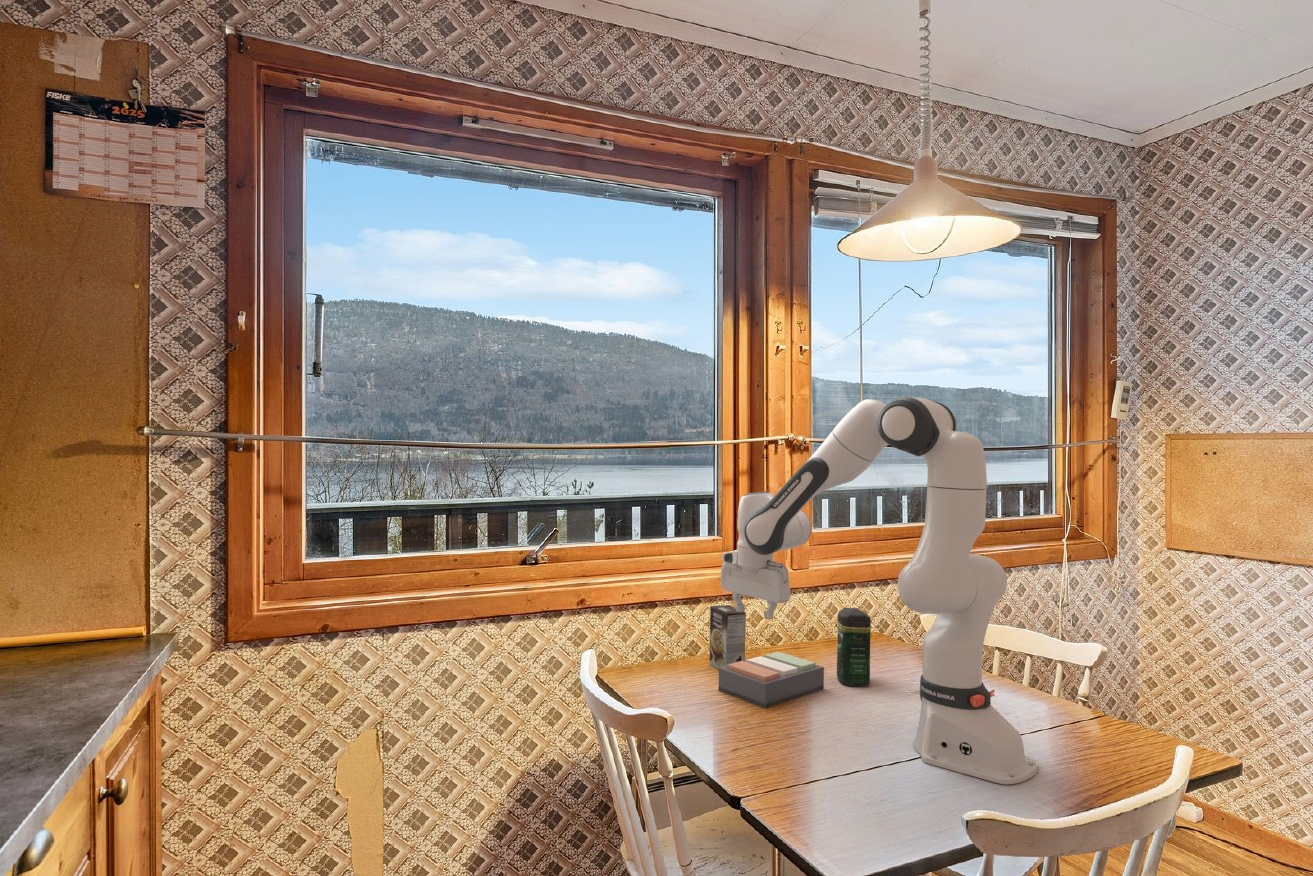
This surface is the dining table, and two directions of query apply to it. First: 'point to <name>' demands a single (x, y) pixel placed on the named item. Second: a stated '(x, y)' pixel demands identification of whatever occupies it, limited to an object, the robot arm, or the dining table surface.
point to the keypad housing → (771, 686)
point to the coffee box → (726, 635)
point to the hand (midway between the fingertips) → (754, 615)
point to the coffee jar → (853, 647)
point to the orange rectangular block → (753, 671)
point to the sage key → (791, 660)
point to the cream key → (773, 665)
